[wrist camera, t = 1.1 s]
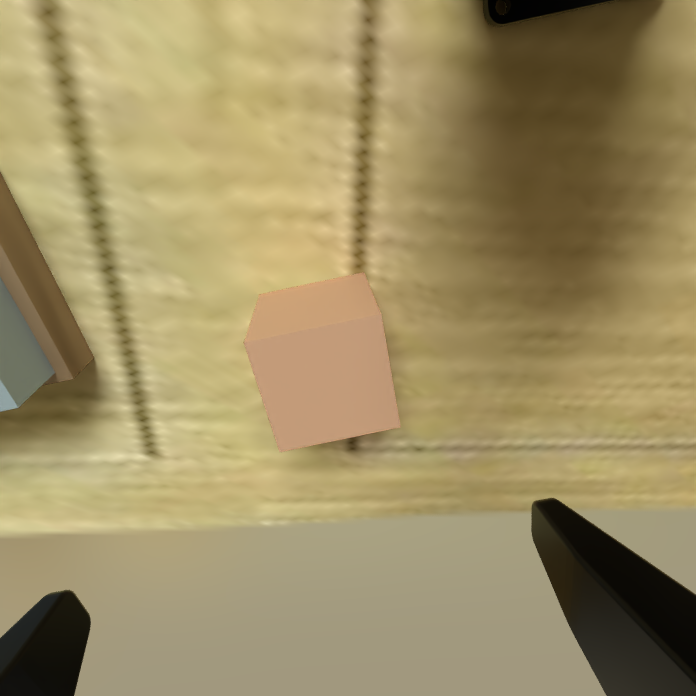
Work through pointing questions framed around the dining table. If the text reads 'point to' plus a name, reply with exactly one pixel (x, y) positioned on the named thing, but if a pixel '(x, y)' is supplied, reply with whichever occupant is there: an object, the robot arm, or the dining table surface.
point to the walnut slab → (38, 294)
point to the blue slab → (18, 356)
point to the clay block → (322, 362)
